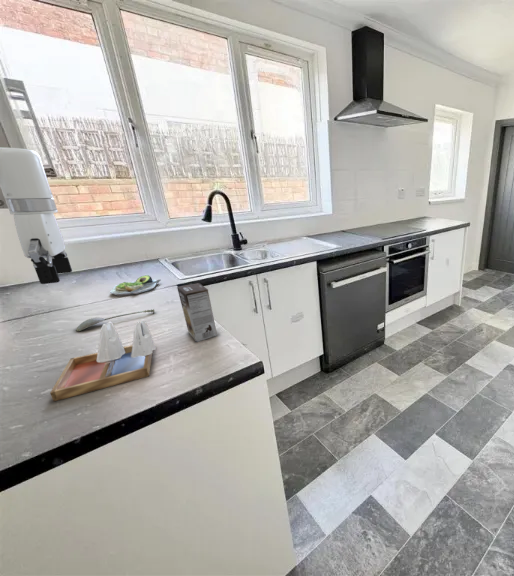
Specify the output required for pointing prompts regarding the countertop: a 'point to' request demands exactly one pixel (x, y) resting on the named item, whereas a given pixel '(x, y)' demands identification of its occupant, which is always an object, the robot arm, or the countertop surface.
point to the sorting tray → (99, 373)
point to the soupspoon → (97, 320)
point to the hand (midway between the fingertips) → (57, 277)
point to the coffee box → (197, 311)
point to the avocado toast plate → (135, 286)
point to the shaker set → (113, 347)
